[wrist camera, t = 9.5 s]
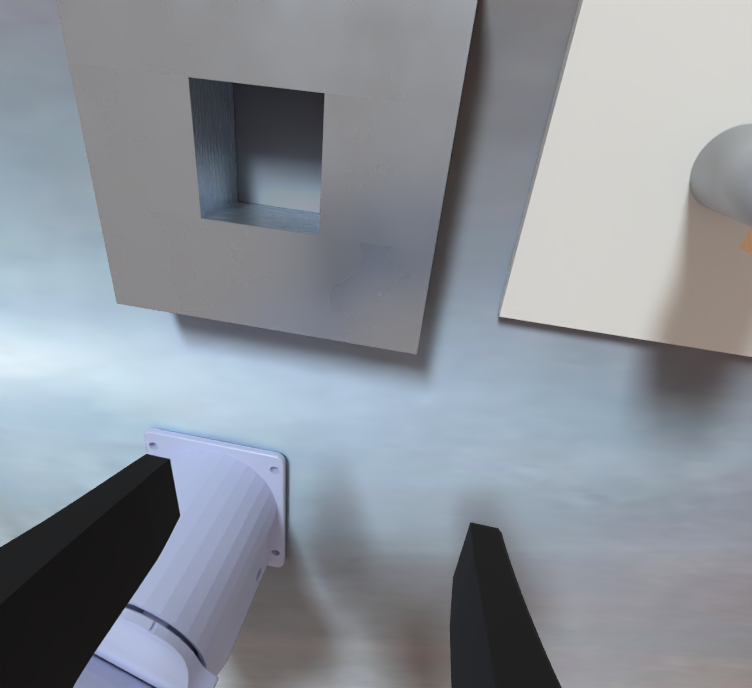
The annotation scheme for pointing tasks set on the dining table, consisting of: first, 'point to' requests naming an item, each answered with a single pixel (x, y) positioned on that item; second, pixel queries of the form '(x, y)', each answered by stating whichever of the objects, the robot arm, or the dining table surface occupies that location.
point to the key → (726, 177)
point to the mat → (639, 179)
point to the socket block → (219, 167)
